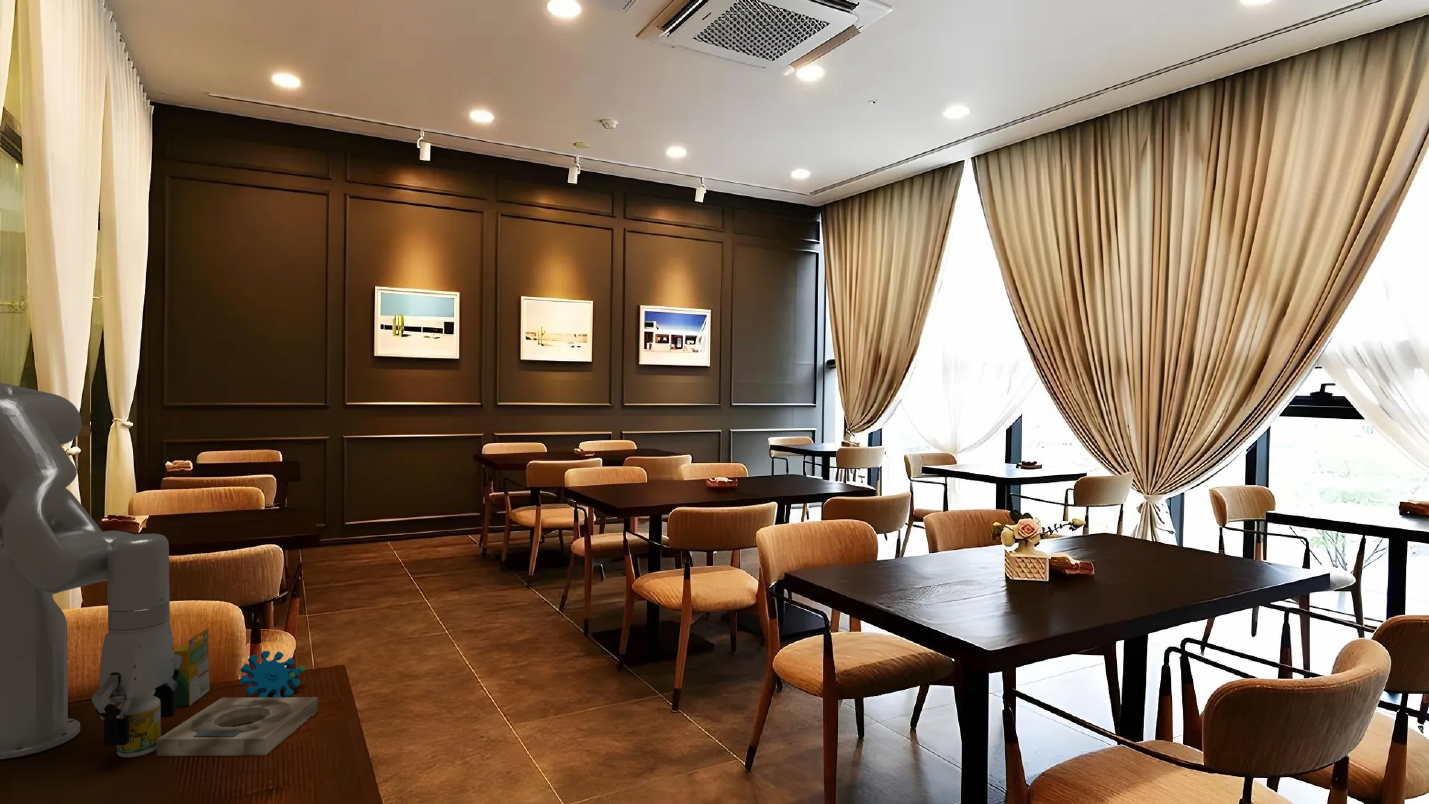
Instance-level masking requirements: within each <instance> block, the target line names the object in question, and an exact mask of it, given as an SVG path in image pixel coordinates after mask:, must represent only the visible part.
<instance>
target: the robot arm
mask: <svg viewBox="0 0 1429 804" xmlns="http://www.w3.org/2000/svg"><path fill="white" fill-rule="evenodd" d="M81 429H82V416H81V414H80V412H79V410H78V408H77V407H76V406H75V404H74V403H72V402H71V401H70V400H68V399H67V398H65V397H63V396H61V395H58V394H55V393H51V392H45V391H41V390H37V389H31V388H29V387H28V388H27V387H23V386H20V385H19V386H18V385H16V384H15V385H14V384H9V383H1V382H0V760H7V758H8V759H13V758H20V757H23V756H24V757H25V756H29V755H33V754H37V753H40V752H43V751H44V752H45V751H47V750H50V749H53V748H55V747H57V746H60V745H63V744H65V743H67V742H69V741H71V740H72V739H74V738H75V737H77V736H78V734H79V733H80V731H81V723H80V721H78V719H77V720H76V719H74V718H71V717H68V716H69V715H68V713H69V712H68V709H69V707H68V705H69V704H68V703H69V702H68V697H69V696H68V691H69V689H68V685H69V684H68V682H69V681H68V678H69V677H68V676H69V675H68V670H69V669H68V667H69V666H68V665H69V664H68V660H69V659H68V650H69V649H68V647H69V646H68V645H69V644H68V642H69V640H68V639H69V638H68V637H69V636H68V622H67V617H66V615H65V613H64V611H63V610H62V609H61V607H60V606H59V605H58V604H57V602H56V600H55V599H54V596H53V595H56V594H58V593H61V592H65V591H70V590H74V589H77V588H82V587H85V586H88V585H89V586H90V585H92V584H98V583H102V582H106V581H107V630H108V632H107V633H106V634H105V635H104V639H103V645H102V647H101V648H102V649H101V654H100V663H99V664H100V665H99V676H98V677H99V678H98V682H99V683H98V689H97V691H96V692H95V693H94V694H93V695H92V697H91V701H92V703H93V705H94V707H95V712H96V713H97V714H98V715H99V716H100V717H99V718H100V719H101V720H103V739H104V740H103V745H105V746H117V745H126V744H127V743H129V716H125V715H126V713H127V710H128V708H129V706H130V704H131V702H132V700H134V699H136V698H139V697H140V696H142V695H144V694H146V693H148V692H150V691H151V690H153V689H155V693H154V695H153V696H155V697H157V698H159V700H160V705H161V718H172V717H173V716H175V707H174V691H172V690H175V689H176V686H177V683H176V682H175V681H176V679H177V677H178V675H179V670H178V669H179V668H180V664H181V661H182V656H179V655H176V654H174V650H175V649H174V638H173V632H172V626H171V607H170V606H171V605H170V603H171V602H170V544H169V539H168V538H167V537H166V536H165V535H164V534H159V533H138V534H135V533H131V532H127V531H122V530H121V531H120V530H105V531H102V529H101V528H100V526H98V524H97V523H96V521H95V520H94V519H93V518H92V517H91V515H90V514H89V513H88V511H87V510H86V509H85V507H84V506H83V504H81V502H80V501H79V500H78V499H77V498H76V496H75V495H74V494H73V493H72V491H70V490H69V489H68V488H67V487H69V486H70V485H71V484H72V483H73V481H75V479H76V477H77V474H78V471H77V470H78V469H77V467H76V465H75V464H74V462H73V461H72V460H71V458H70V457H69V455H68V454H67V452H66V451H65V450H64V448H63V447H62V446H63V445H66V444H69V443H71V442H72V441H73V440H74V439H76V438H77V437H78V436H79V434H80V432H81ZM122 694H126V695H122ZM116 703H120V704H121V705H120V704H119V705H120V707H119V709H118V706H116Z"/></svg>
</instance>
